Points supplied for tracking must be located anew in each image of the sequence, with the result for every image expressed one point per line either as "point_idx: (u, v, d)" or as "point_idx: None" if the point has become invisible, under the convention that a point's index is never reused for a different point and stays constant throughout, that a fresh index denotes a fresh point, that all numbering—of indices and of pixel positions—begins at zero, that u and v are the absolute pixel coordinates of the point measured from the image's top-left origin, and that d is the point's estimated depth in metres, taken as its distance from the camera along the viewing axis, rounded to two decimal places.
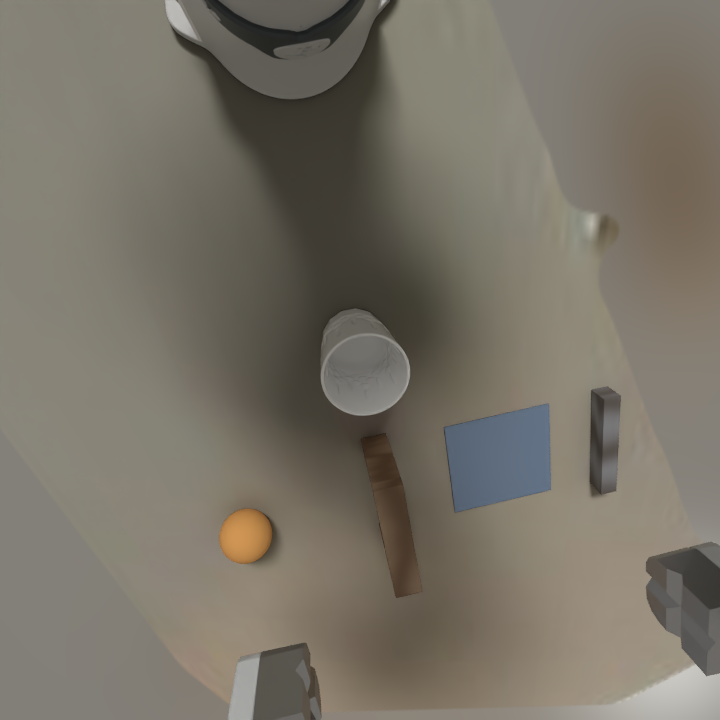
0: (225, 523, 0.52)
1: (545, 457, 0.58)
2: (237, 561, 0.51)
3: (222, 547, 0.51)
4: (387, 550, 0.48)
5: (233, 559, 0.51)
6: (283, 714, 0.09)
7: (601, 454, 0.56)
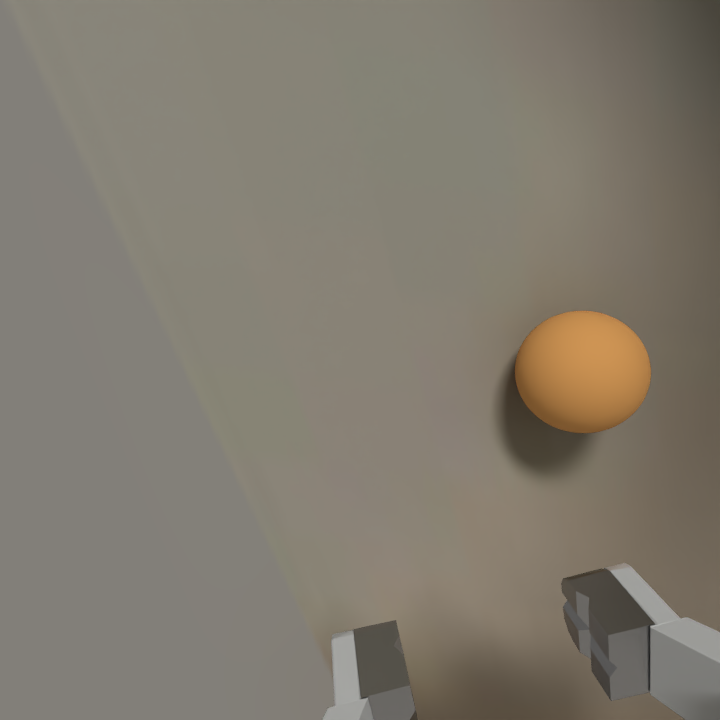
0: (543, 332, 0.22)
1: None
2: (592, 415, 0.20)
3: (550, 381, 0.21)
4: None
5: (584, 407, 0.20)
6: (390, 687, 0.09)
7: None
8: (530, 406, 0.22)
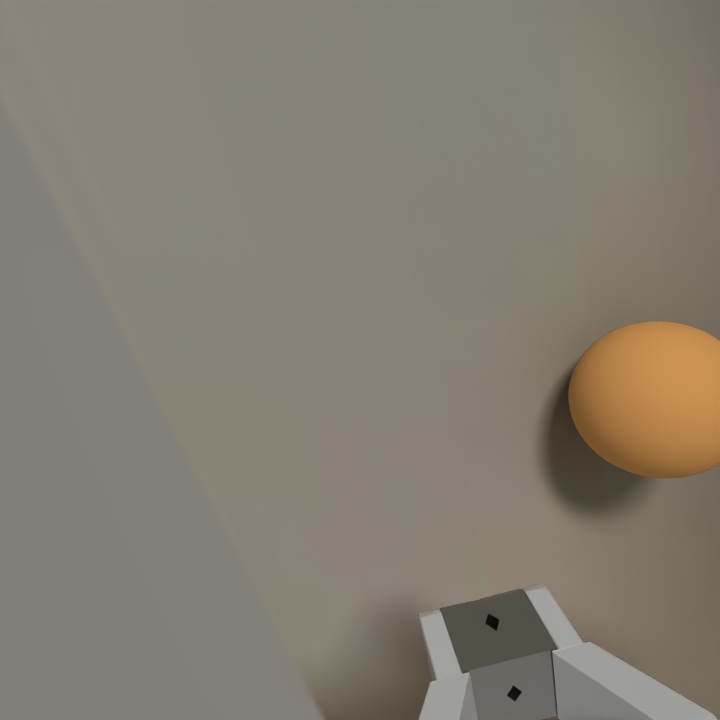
0: (612, 349, 0.17)
1: None
2: (680, 461, 0.16)
3: (625, 415, 0.16)
4: None
5: (671, 450, 0.15)
6: (490, 662, 0.09)
7: None
8: (591, 442, 0.18)
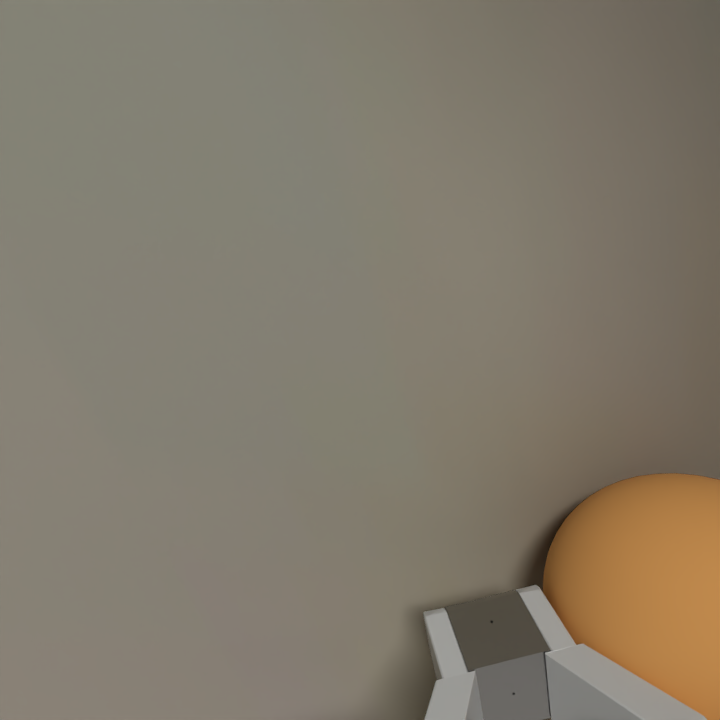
0: (710, 608, 0.08)
1: None
2: None
3: None
4: None
5: None
6: (496, 661, 0.09)
7: None
8: None
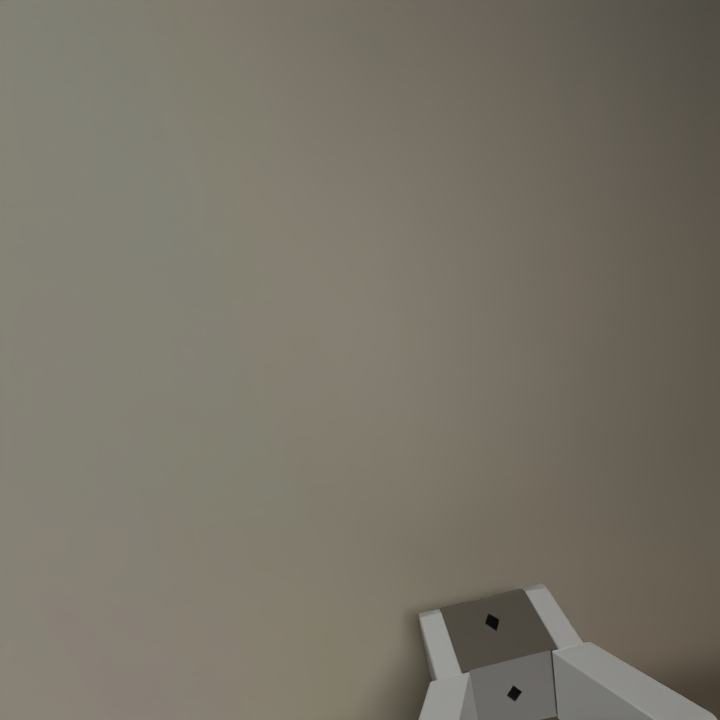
0: None
1: None
2: None
3: None
4: None
5: None
6: (490, 662, 0.09)
7: None
8: None
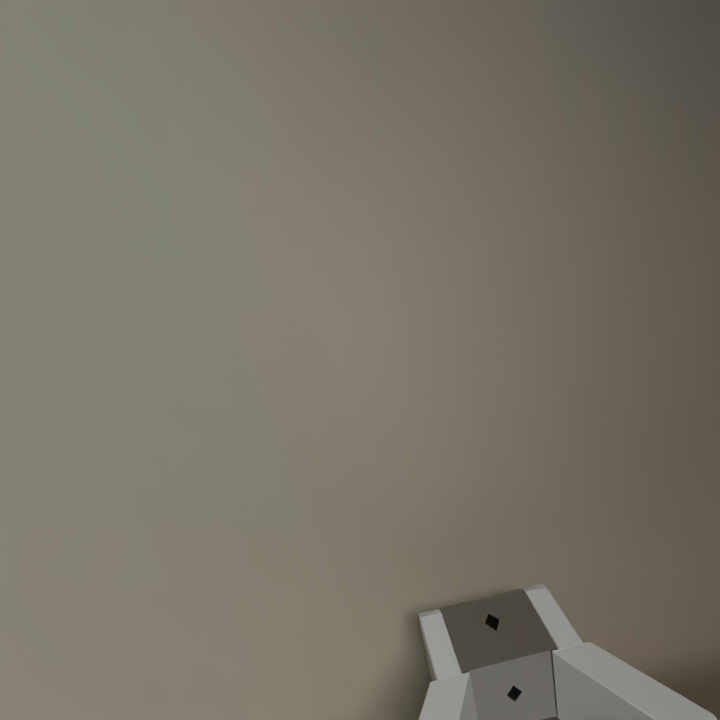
0: None
1: None
2: None
3: None
4: None
5: None
6: (490, 662, 0.09)
7: None
8: None
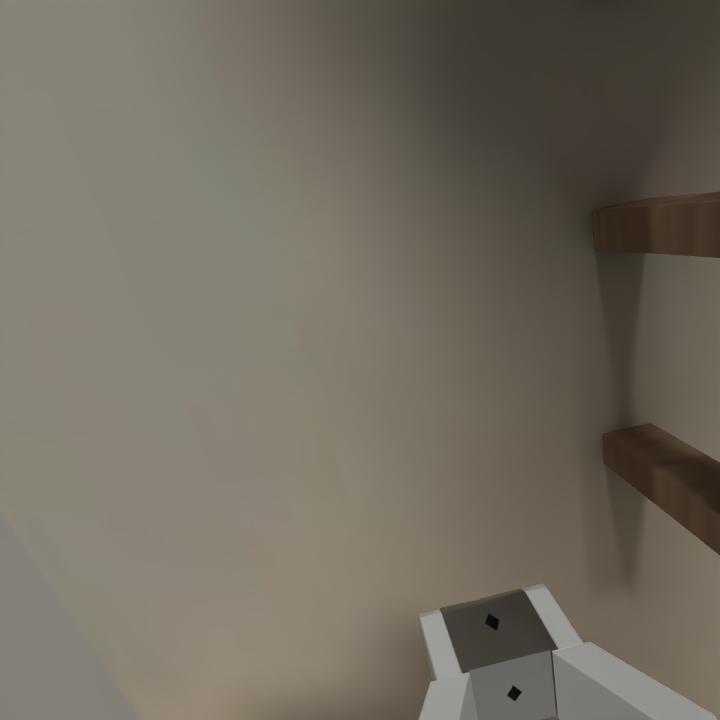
0: None
1: None
2: None
3: None
4: None
5: None
6: (490, 662, 0.09)
7: None
8: None
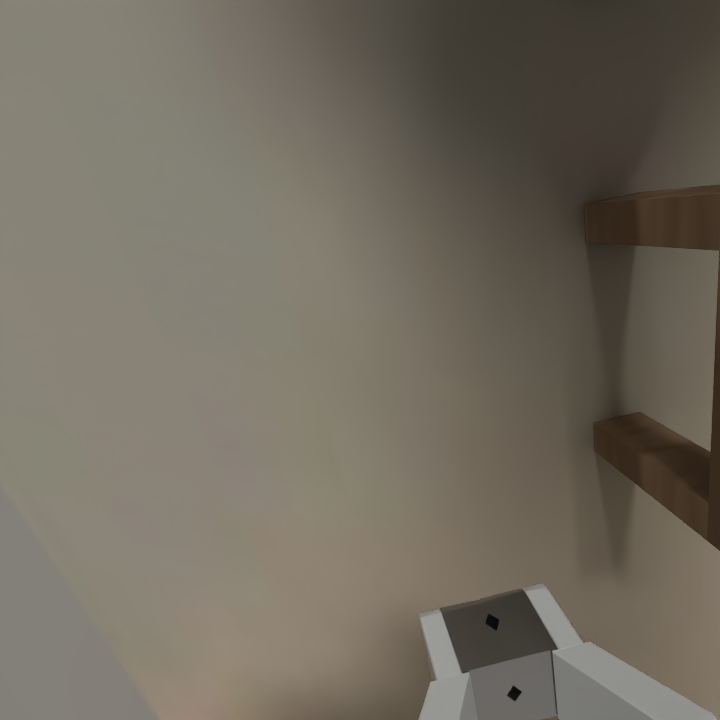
0: None
1: None
2: None
3: None
4: None
5: None
6: (490, 662, 0.09)
7: None
8: None
